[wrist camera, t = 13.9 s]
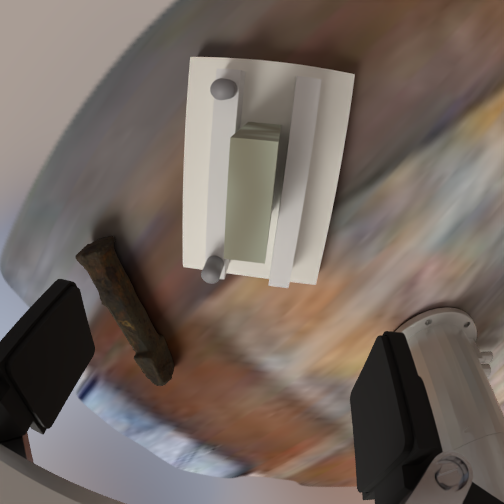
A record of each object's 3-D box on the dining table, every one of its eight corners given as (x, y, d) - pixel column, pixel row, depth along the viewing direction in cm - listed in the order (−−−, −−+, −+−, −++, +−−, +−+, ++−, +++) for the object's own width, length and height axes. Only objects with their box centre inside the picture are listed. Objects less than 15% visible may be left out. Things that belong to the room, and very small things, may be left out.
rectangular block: (281, 124, 22) (278, 141, 15) (271, 212, 26) (264, 263, 19) (248, 121, 23) (230, 137, 16) (241, 209, 26) (223, 258, 19)
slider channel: (351, 75, 21) (368, 71, 16) (314, 275, 30) (318, 315, 25) (195, 58, 22) (171, 51, 17) (187, 258, 31) (168, 294, 25)
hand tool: (88, 238, 31) (64, 260, 27) (117, 230, 30) (94, 253, 26) (156, 366, 39) (144, 393, 35) (183, 365, 39) (173, 394, 35)
